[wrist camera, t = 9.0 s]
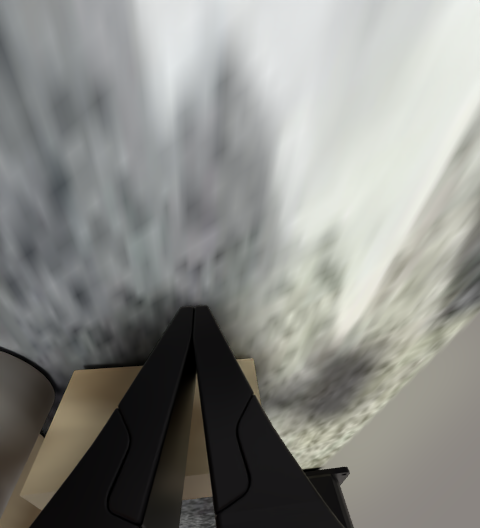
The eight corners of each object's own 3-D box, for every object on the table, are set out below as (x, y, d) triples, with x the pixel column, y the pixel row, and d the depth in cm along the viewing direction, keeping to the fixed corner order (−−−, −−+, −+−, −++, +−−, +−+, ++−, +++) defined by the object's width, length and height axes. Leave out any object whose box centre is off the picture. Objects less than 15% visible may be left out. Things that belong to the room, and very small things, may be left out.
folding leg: (91, 400, 12) (51, 516, 9) (74, 370, 11) (19, 495, 8) (249, 388, 13) (263, 489, 10) (253, 358, 12) (271, 466, 8)
